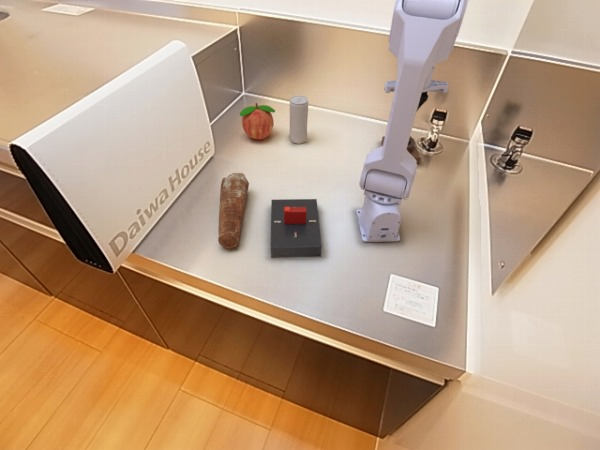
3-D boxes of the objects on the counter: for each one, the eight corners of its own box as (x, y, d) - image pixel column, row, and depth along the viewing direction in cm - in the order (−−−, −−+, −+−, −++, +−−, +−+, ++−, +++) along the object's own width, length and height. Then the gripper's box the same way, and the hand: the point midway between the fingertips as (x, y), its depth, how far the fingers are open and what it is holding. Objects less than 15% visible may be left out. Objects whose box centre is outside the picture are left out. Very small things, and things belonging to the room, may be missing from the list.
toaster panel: (320, 256, 74) (321, 246, 72) (271, 257, 74) (270, 247, 72) (315, 208, 84) (316, 198, 82) (272, 209, 84) (271, 198, 81)
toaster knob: (305, 219, 77) (306, 206, 75) (306, 223, 76) (306, 210, 74) (284, 219, 77) (284, 206, 74) (284, 224, 76) (284, 211, 74)
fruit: (242, 128, 107) (238, 95, 99) (275, 127, 108) (273, 94, 100) (242, 145, 101) (238, 112, 94) (277, 143, 102) (276, 110, 94)
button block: (418, 164, 96) (422, 151, 93) (388, 165, 96) (391, 152, 93) (409, 143, 103) (412, 130, 100) (381, 143, 103) (383, 130, 100)
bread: (250, 190, 88) (248, 171, 84) (241, 251, 75) (238, 233, 71) (223, 189, 88) (220, 170, 84) (210, 251, 75) (205, 232, 71)
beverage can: (286, 141, 102) (286, 101, 94) (294, 133, 105) (295, 93, 97) (302, 146, 101) (303, 105, 92) (309, 137, 104) (311, 97, 95)
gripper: (448, 56, 85) (432, 110, 95) (386, 56, 85) (376, 110, 94) (458, 70, 80) (440, 125, 90) (392, 69, 80) (381, 125, 90)
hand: (408, 119), depth 92 cm, fingers closed
